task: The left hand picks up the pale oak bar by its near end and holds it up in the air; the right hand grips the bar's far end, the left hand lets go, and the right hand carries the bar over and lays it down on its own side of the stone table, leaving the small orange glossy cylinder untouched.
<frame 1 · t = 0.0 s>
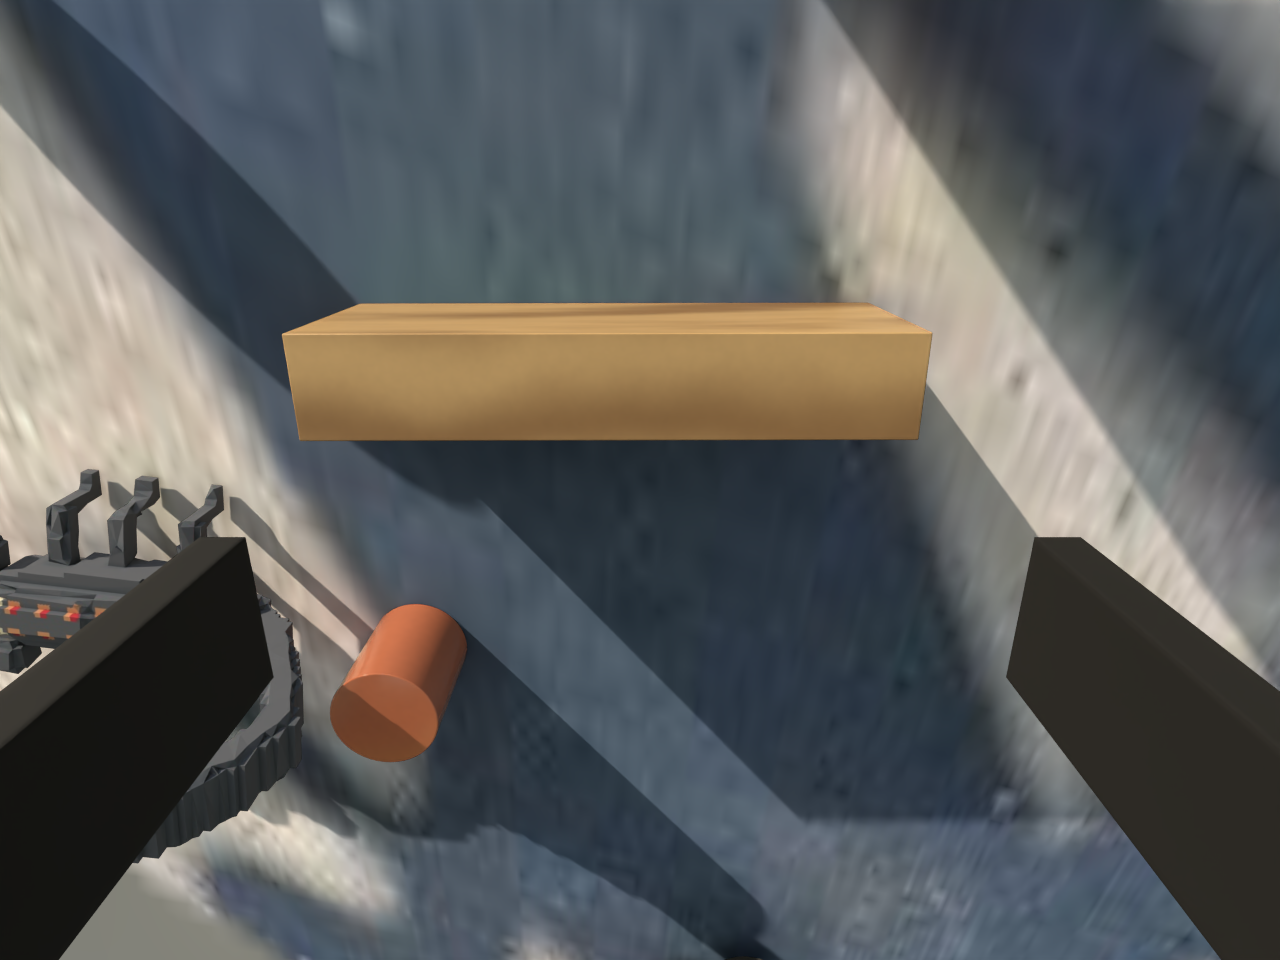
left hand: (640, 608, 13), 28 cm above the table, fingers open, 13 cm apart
toy: (142, 571, 44), on the table
oak bar: (614, 347, 39), on the table
orange glossy cylinder: (420, 644, 46), on the table
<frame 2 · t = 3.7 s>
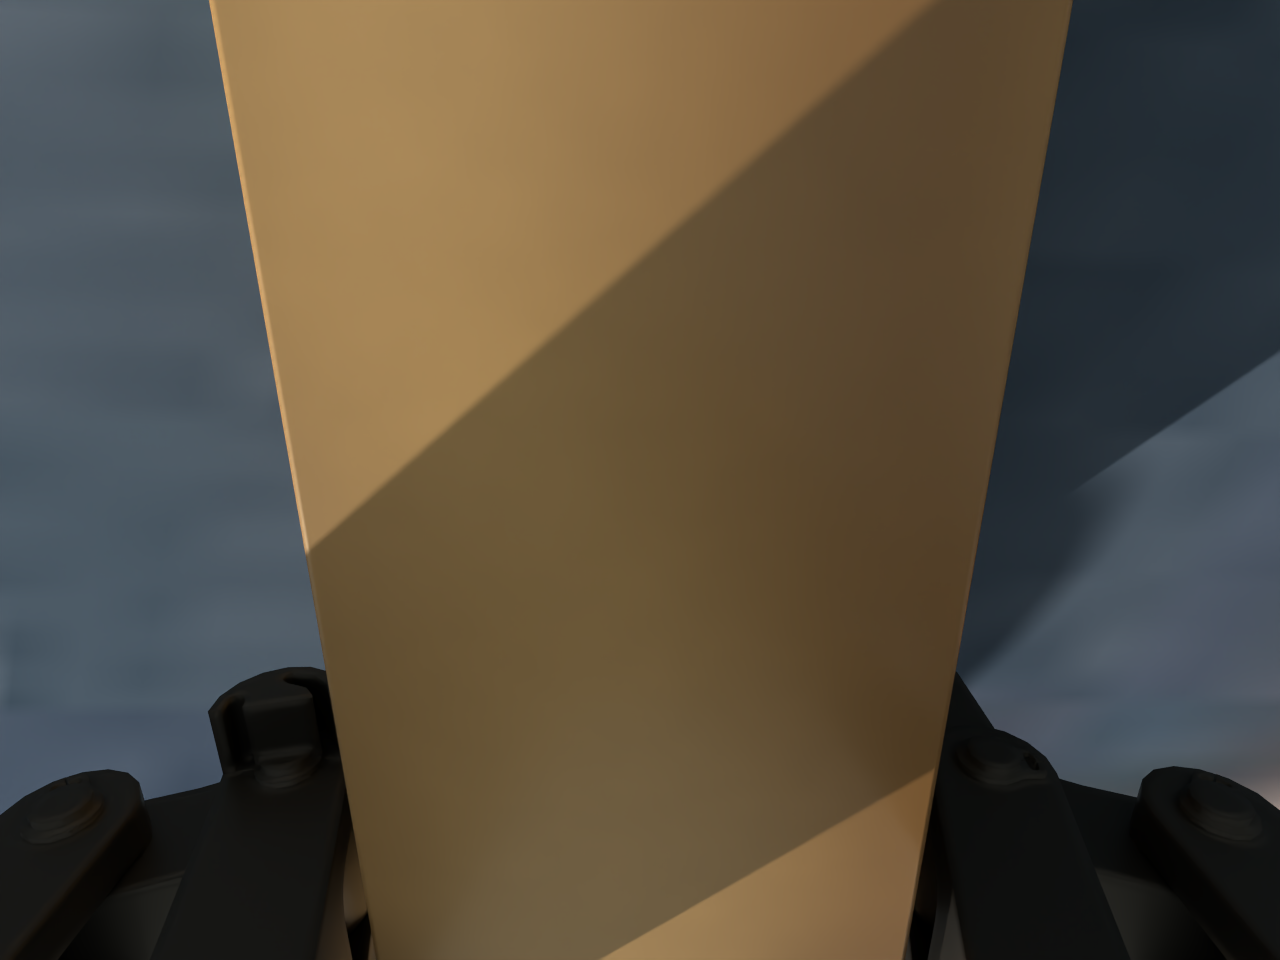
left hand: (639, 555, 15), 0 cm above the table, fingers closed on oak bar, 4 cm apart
oak bar: (640, 27, 12), on the table, touching left hand
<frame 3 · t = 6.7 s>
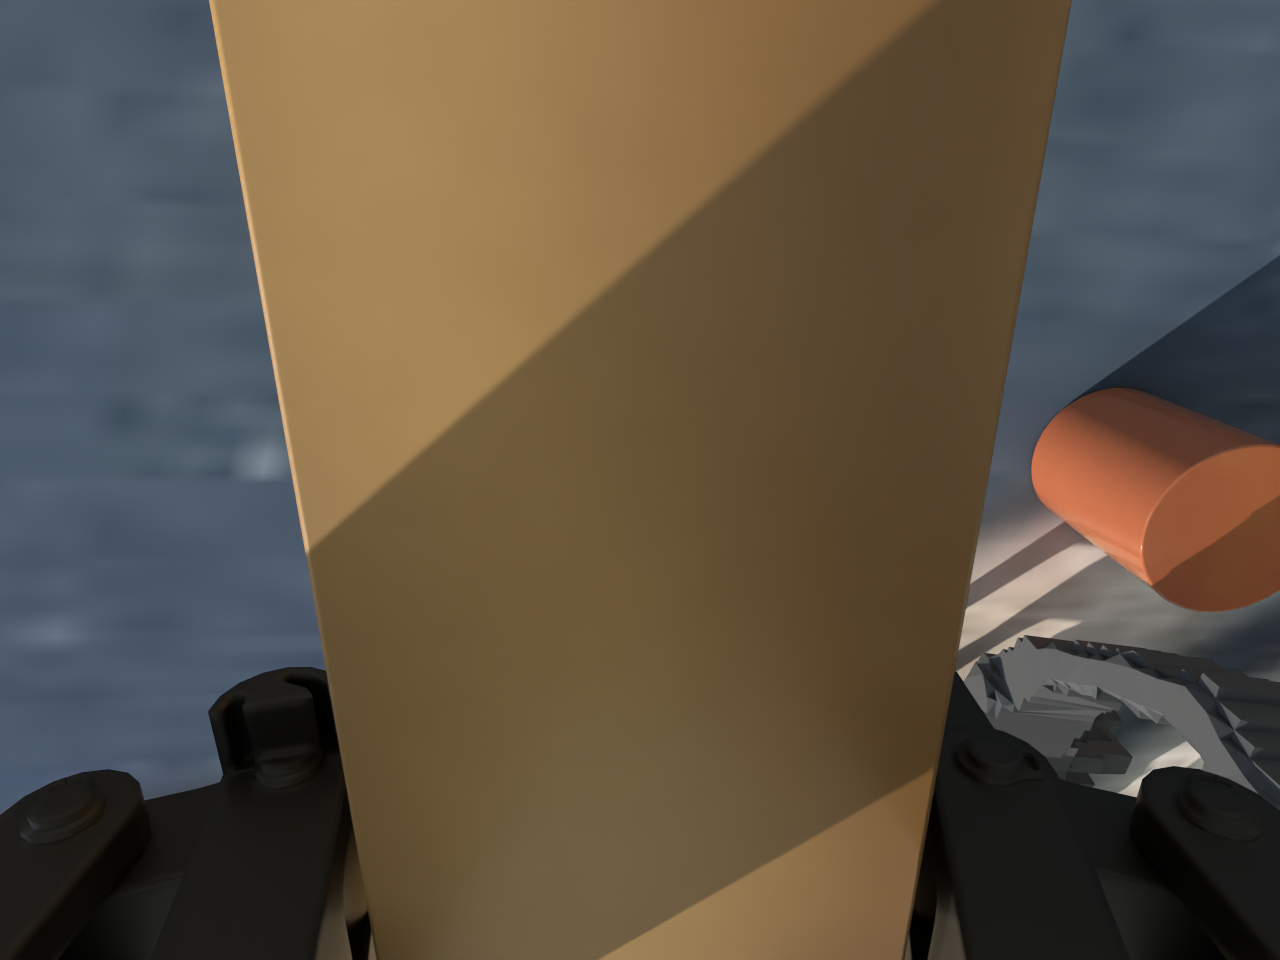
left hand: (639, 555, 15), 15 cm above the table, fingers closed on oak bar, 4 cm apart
toy: (922, 777, 35), on the table
oak bar: (640, 28, 12), point 14 cm above the table, touching left hand
orange glossy cylinder: (1103, 457, 29), on the table
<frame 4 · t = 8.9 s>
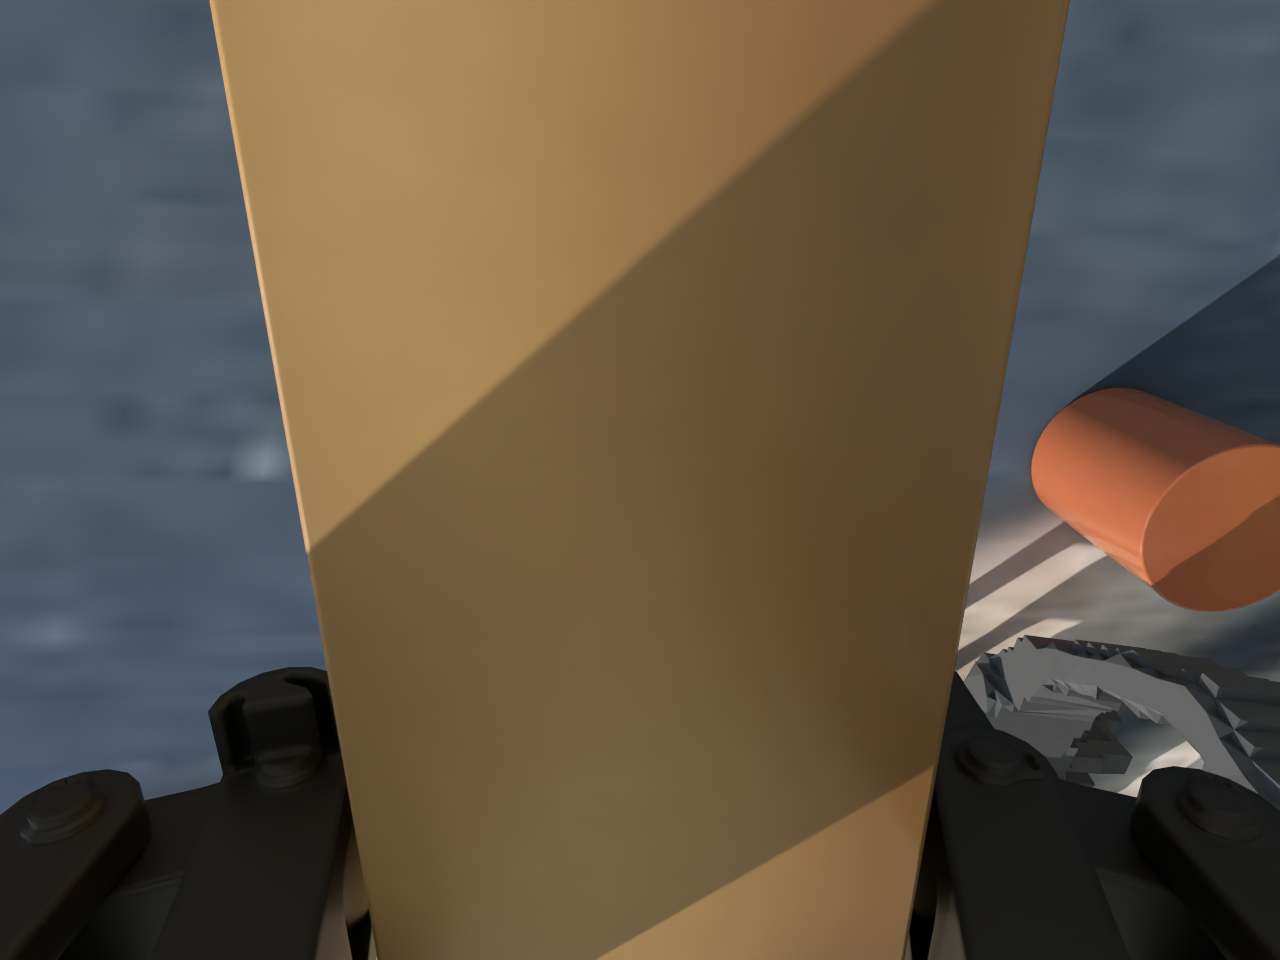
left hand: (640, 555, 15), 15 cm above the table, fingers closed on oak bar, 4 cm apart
toy: (922, 777, 35), on the table
oak bar: (639, 28, 12), point 14 cm above the table, touching left hand, right hand
orange glossy cylinder: (1103, 457, 29), on the table
when the left hand's fingers open (15 cm above the table, at t = 9.8 s): oak bar stays where it is, held by the right hand.
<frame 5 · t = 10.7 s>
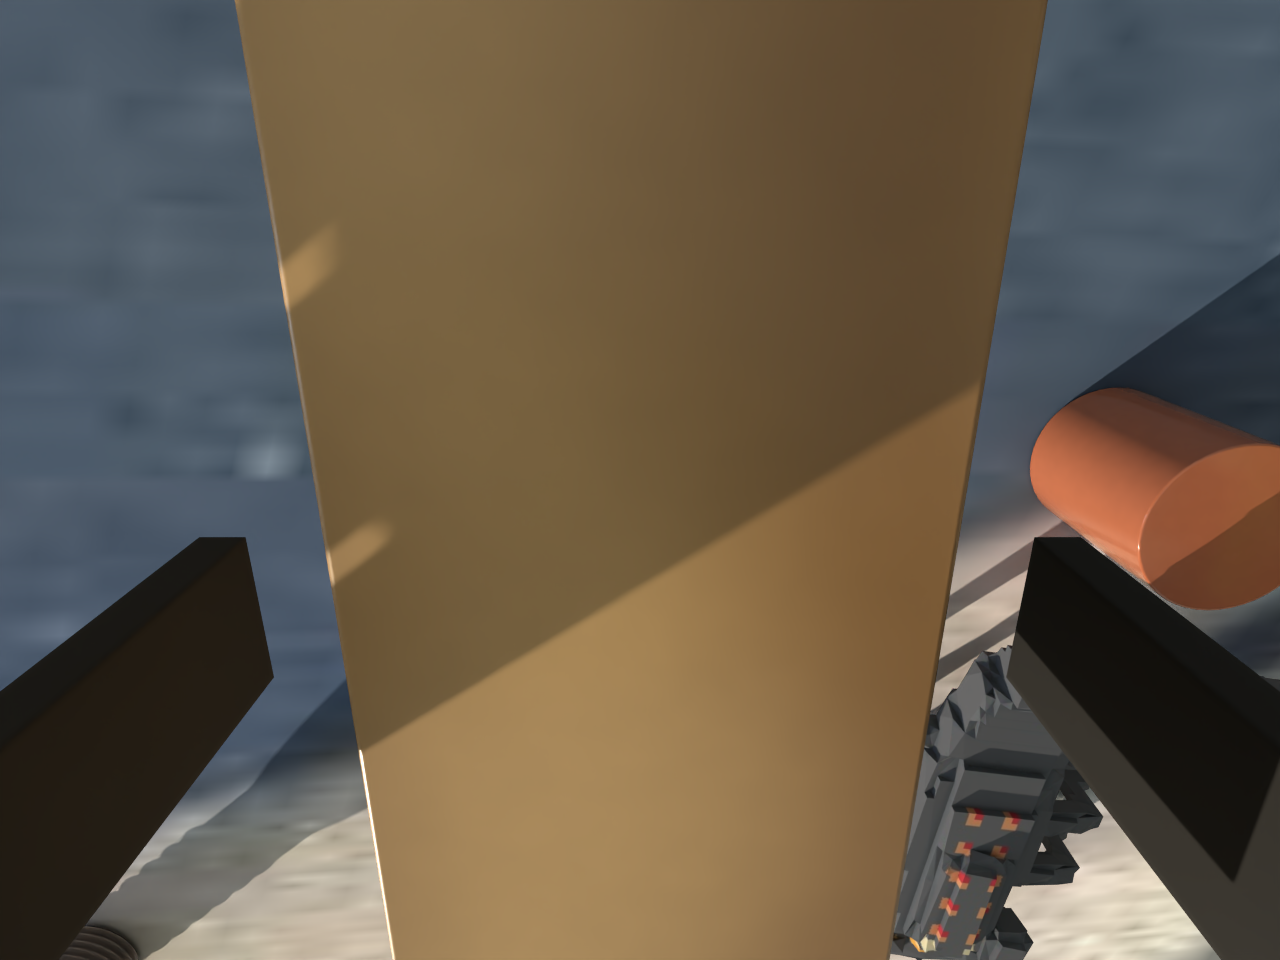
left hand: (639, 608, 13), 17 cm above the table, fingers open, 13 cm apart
toy: (922, 776, 35), on the table
oak bar: (639, 28, 12), point 14 cm above the table, touching right hand
light bulb: (103, 947, 39), on the table
orange glossy cylinder: (1101, 456, 30), on the table
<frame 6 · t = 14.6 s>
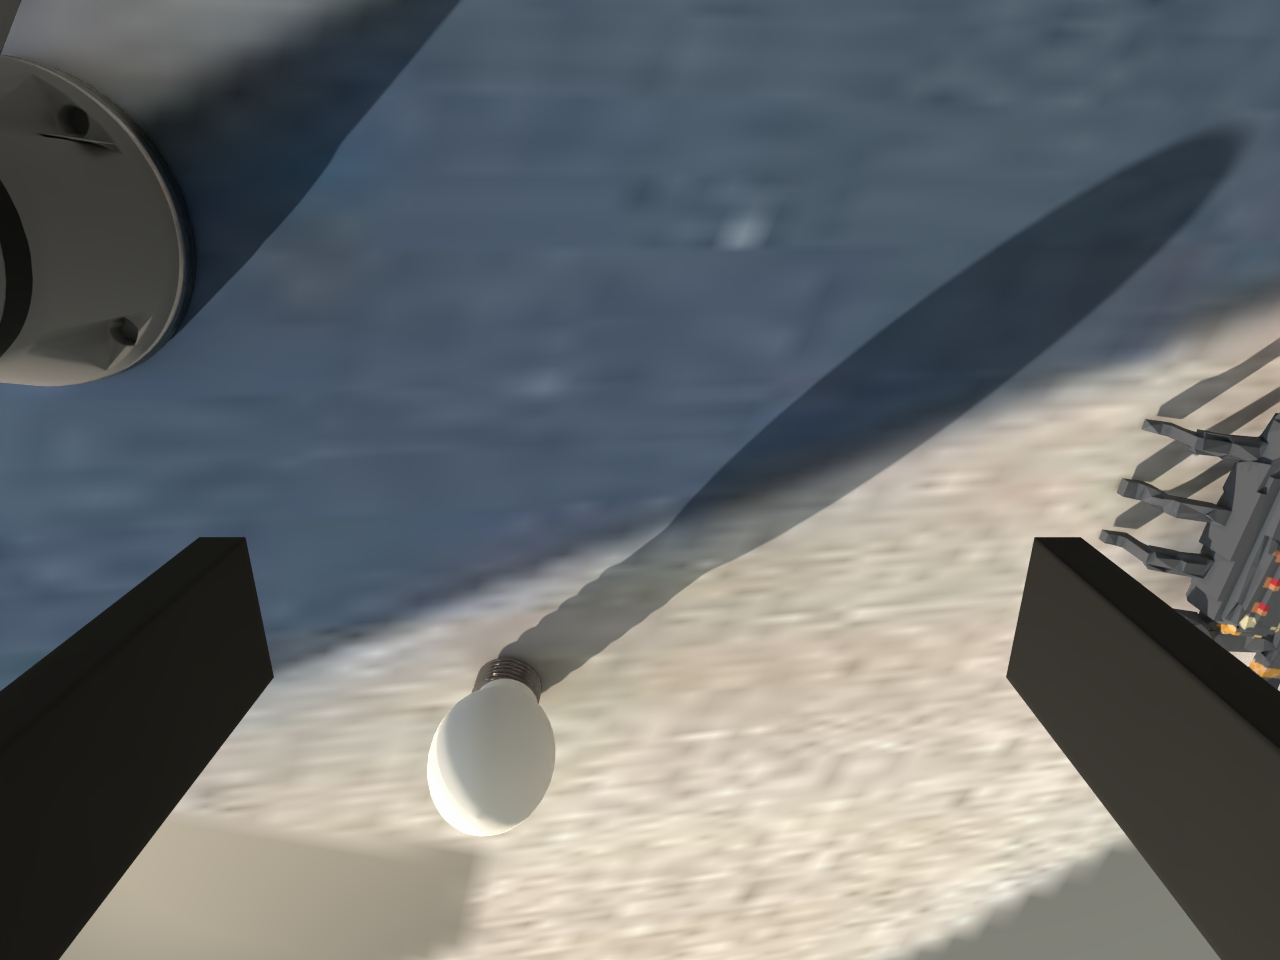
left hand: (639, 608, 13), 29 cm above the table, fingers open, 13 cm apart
toy: (1212, 516, 43), on the table
light bulb: (512, 681, 47), on the table
when the right hand's fingers open (5 cm above the table, at t = 20.7 s): oak bar stays where it is, on the table.
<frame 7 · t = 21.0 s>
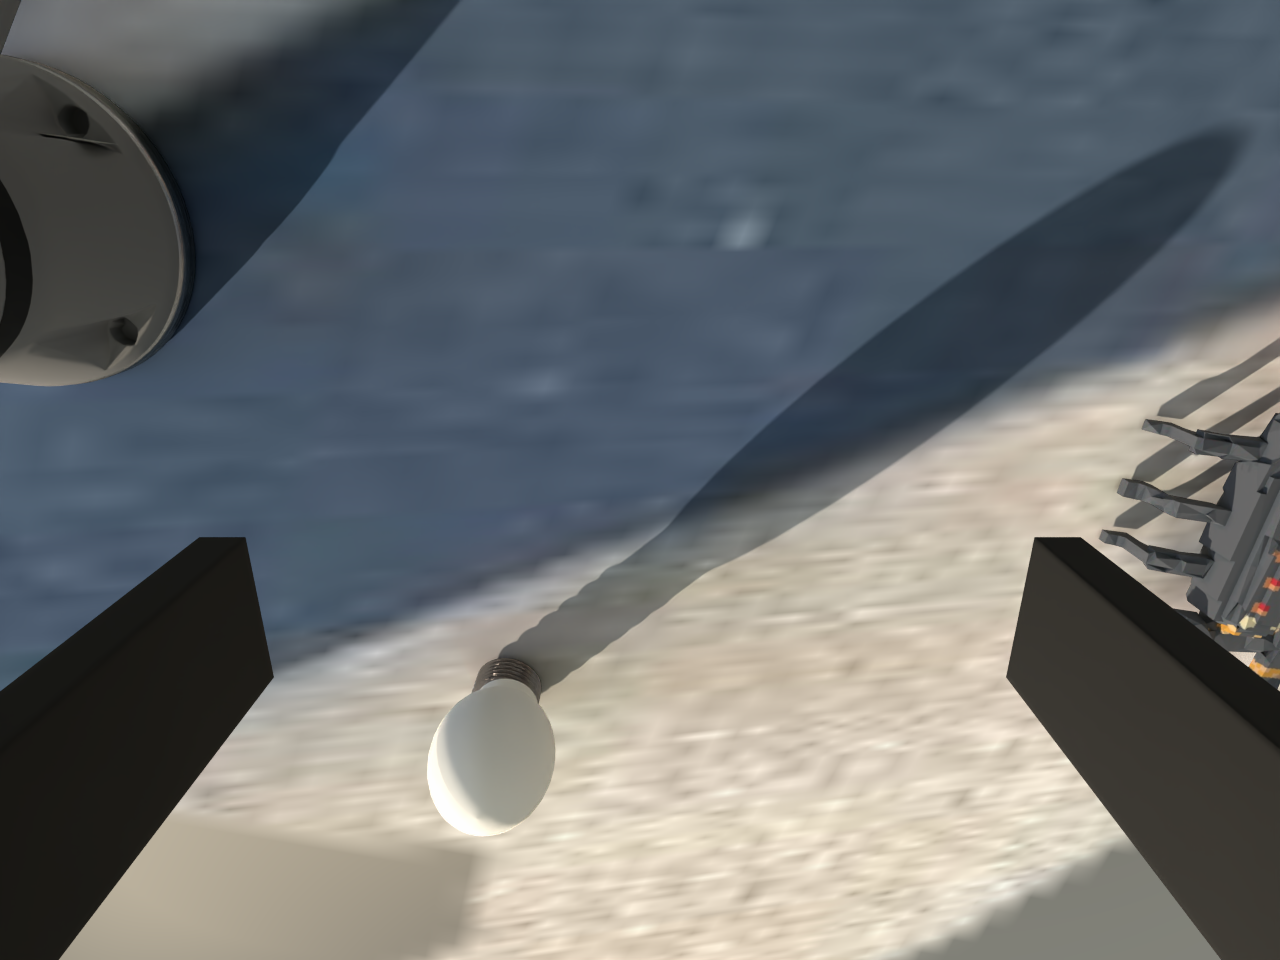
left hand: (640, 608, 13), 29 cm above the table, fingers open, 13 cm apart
toy: (1212, 516, 43), on the table
light bulb: (512, 681, 47), on the table
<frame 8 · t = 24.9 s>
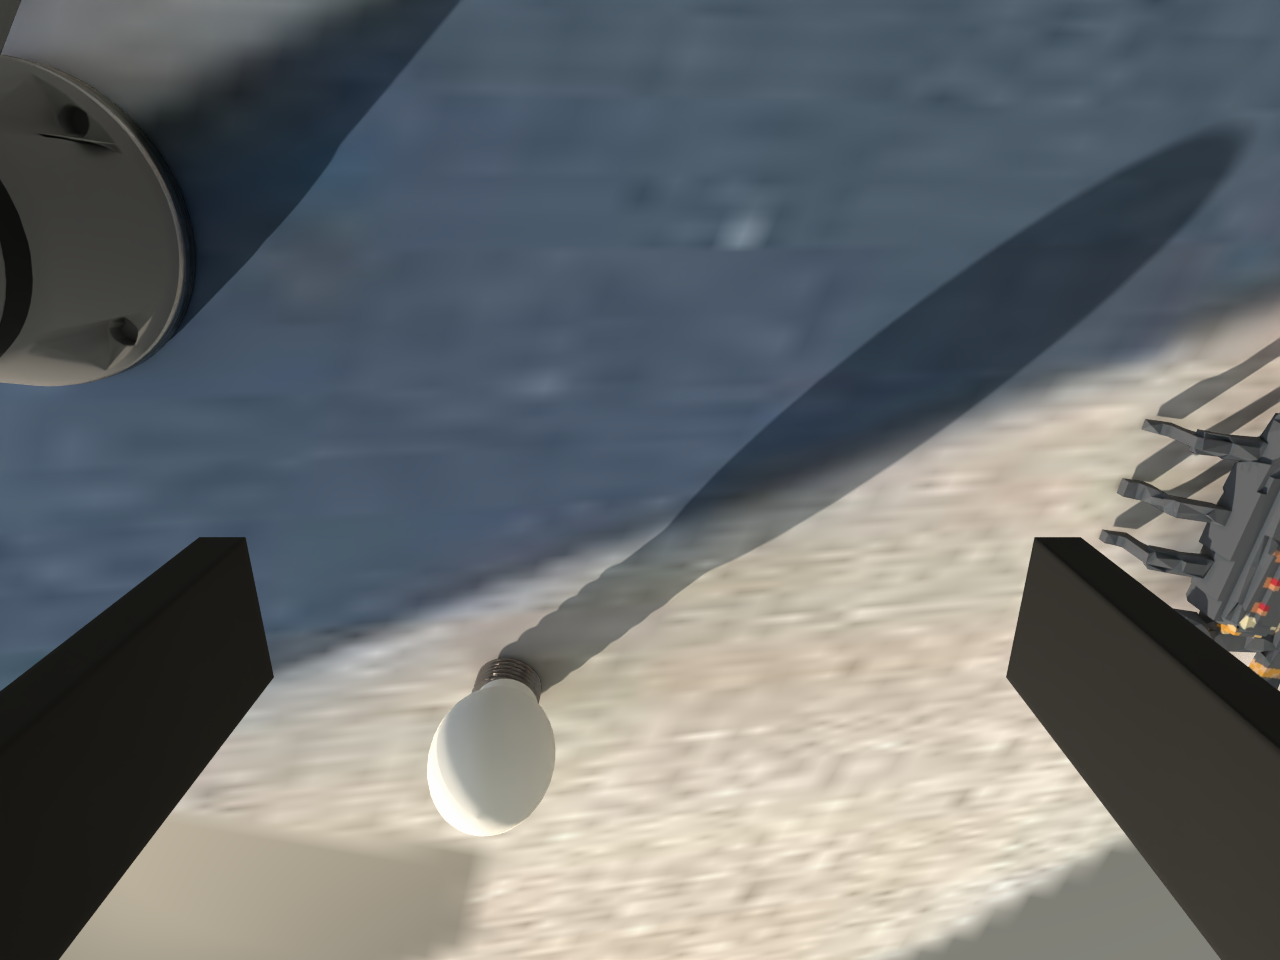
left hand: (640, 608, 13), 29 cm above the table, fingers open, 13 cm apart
toy: (1212, 516, 43), on the table
light bulb: (512, 681, 47), on the table
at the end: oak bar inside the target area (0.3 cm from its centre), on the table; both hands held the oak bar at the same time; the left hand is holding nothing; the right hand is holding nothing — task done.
